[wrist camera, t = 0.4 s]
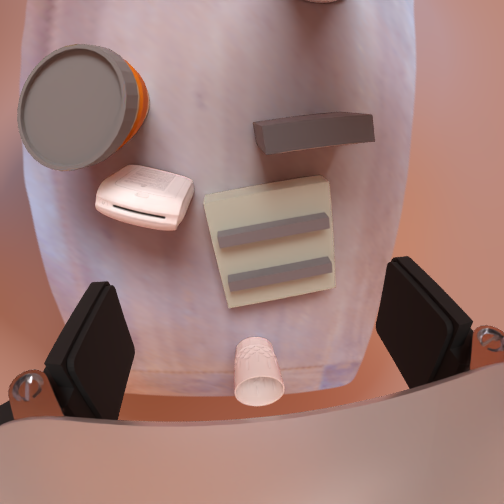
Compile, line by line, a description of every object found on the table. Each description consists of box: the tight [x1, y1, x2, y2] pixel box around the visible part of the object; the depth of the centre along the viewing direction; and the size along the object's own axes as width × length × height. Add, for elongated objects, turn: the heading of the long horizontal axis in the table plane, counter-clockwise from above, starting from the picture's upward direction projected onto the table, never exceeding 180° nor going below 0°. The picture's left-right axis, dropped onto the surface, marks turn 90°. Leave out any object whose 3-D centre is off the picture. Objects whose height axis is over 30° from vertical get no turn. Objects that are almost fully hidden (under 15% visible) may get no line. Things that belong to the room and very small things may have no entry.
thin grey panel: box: [253, 112, 375, 155], centre depth 35 cm, size 3×12×10 cm, turn 100°
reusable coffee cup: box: [17, 44, 150, 171], centre depth 29 cm, size 13×12×15 cm
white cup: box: [234, 337, 285, 406], centre depth 50 cm, size 8×8×10 cm
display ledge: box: [203, 175, 336, 308], centre depth 43 cm, size 16×16×6 cm
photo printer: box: [95, 165, 194, 231], centre depth 35 cm, size 10×4×12 cm, turn 73°
